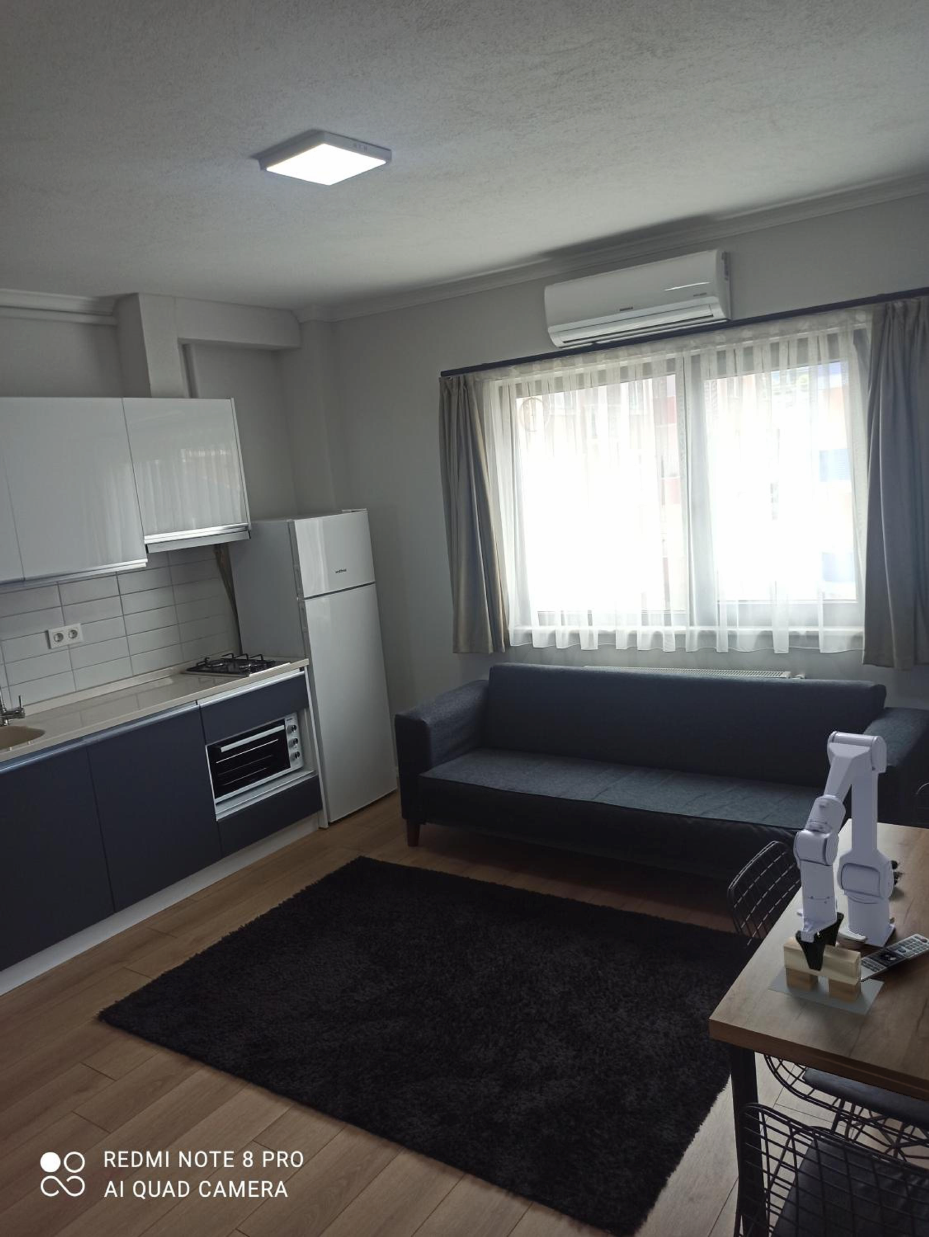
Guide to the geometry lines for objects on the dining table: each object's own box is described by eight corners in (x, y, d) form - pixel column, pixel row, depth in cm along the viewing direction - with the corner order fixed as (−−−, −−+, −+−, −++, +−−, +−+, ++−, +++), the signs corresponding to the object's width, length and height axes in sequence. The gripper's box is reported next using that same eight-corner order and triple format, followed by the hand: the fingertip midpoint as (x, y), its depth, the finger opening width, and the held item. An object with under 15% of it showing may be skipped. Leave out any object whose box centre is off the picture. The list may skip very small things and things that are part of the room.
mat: (789, 960, 186) (789, 958, 186) (884, 983, 175) (883, 982, 174) (767, 989, 177) (767, 988, 177) (865, 1016, 165) (865, 1015, 165)
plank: (792, 957, 180) (790, 936, 179) (861, 974, 172) (860, 952, 171) (784, 967, 177) (783, 945, 176) (855, 985, 169) (854, 962, 168)
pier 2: (836, 984, 175) (835, 967, 175) (861, 990, 173) (860, 973, 172) (829, 996, 172) (828, 979, 172) (854, 1003, 169) (853, 985, 169)
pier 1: (794, 973, 181) (793, 957, 180) (818, 979, 178) (817, 962, 177) (786, 985, 177) (785, 968, 177) (810, 991, 174) (809, 974, 174)
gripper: (809, 872, 180) (813, 936, 182) (782, 904, 169) (787, 972, 171) (847, 879, 175) (850, 945, 177) (822, 912, 164) (825, 982, 167)
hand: (821, 959), depth 174 cm, fingers open, 7 cm apart
